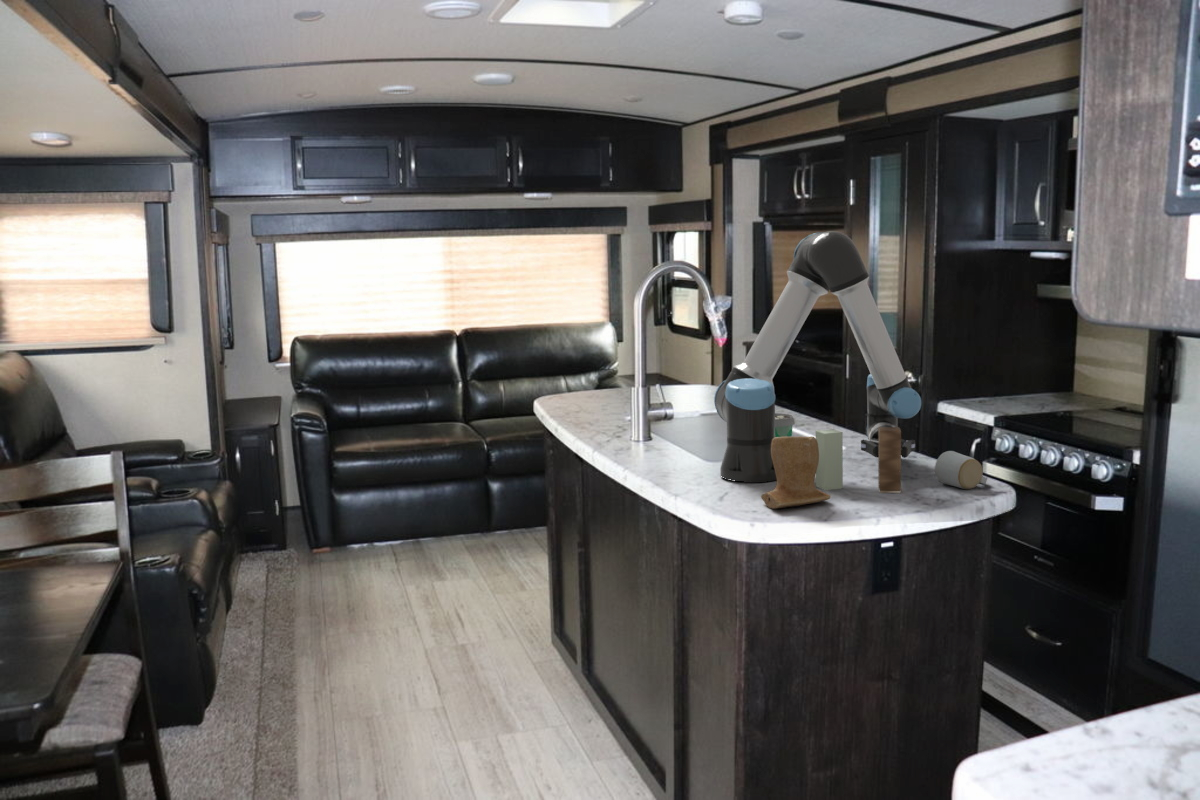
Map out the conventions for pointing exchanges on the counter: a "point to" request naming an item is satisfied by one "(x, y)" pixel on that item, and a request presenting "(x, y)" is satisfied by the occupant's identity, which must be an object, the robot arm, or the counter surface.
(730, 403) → the robot arm
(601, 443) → the counter surface
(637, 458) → the counter surface
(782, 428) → the food container
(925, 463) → the counter surface
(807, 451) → the cork flared stand
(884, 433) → the walnut block
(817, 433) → the sage block
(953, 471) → the ceramic mug
